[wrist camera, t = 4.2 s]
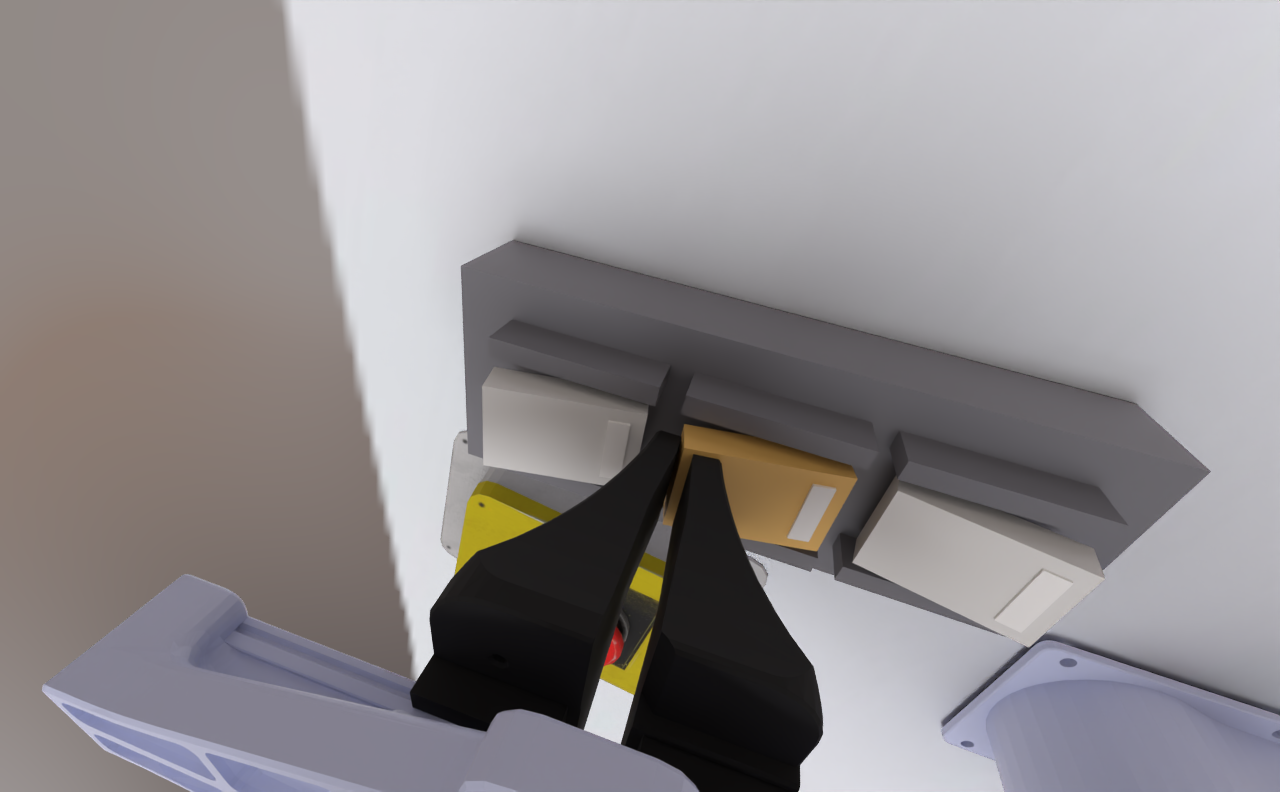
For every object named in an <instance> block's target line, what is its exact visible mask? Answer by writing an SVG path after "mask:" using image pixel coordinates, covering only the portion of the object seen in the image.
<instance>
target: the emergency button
mask: <svg viewBox="0 0 1280 792" xmlns="http://www.w3.org/2000/svg"><path fill="white" fill-rule="evenodd" d="M586 498H588V497H585V496H582V495H579V494H576V493H573V492H570V491H567V490H564V489H561V488H558V487H555V486H552V485H549V484H546V483H543V482H540V481H537V480H534V479H531V478H528V477H525V476H522V475H519V474H516V473H513V472H510V471H507V470H504V469H501V468H497V467H491V466H485V465H483V458H480V457H477V456H474V455H471V454H468V440H467V431H462V432H459V434H458V435H457V436H456V438H455V440H454V445H453V452H452V459H451V467H450V474H449V481H448V489H447V496H446V503H445V511H444V518H443V525H442V533H441V543H442V546H443V547H444V549H445V550H446V551H447V552H448V553H449V554H451V555H452V556H454V557H455V558H457V564H456V569H455V574H456V573H457V572H458V571H459V570H460V569H461V568H462V567H463V565H464V564H465V563H466V562H467V561H468V560H469V559H470V558H471V557H472V556H473V555H474V554H475V553H476V552H477V551H479V550H482V549H485V548H487V547H490V546H493V545H495V544H498V543H501V542H503V541H506V540H509V539H512V538H514V537H516V536H519V535H521V534H523V533H525V532H527V531H529V530H531V529H533V528H536V527H538V526H540V525H542V524H544V523H546V522H548V521H550V520H552V519H554V518H555V517H557V516H559V515H561V514H562V513H564V512H566V511H567V510H569V509H571V508H572V507H574V506H576V505H577V504H579V503H580V502H582V501H583V500H585V499H586ZM671 530H672V526H668V525H663V522H660V521H658V522H657V525H656V527H655V529H654V532H653V534H652V536H651V539H650V541H649V543H648V546H647V548H646V550H645V553H644V555H643V557H642V560H641V562H640V564H639V567H638V569H637V571H636V574H635V576H634V578H633V581H632V583H631V585H630V588H629V590H628V593H627V596H626V598H625V601H624V604H623V607H622V610H621V613H620V616H619V620H618V623H617V626H616V629H615V632H614V635H613V638H612V641H611V645H610V648H609V651H608V654H607V657H606V660H605V663H604V667H603V670H602V673H601V676H600V679H602V680H604V681H606V682H608V683H610V684H612V685H614V686H616V687H618V688H620V689H623V690H625V691H627V692H629V693H631V694H633V695H634V694H635V691H636V687H637V683H638V680H639V676H640V672H641V668H642V665H643V661H644V657H645V654H646V650H647V646H648V643H649V639H650V635H651V631H652V628H653V624H654V620H655V617H656V613H657V608H658V603H659V599H660V593H661V588H662V582H663V576H664V570H665V564H666V558H667V553H668V547H669V541H670V535H671ZM747 557H748V559H749V561H750V564H751V566H752V568H753V570H754V572H755V574H756V576H757V579H758V581H759V582H760V584H761V586H762V588H763V587H764V586H765V585H766V581H767V576H768V573H767V572H766V570H765V568H764V567H763V565H762V564H760V563H759V562H757V561H756V560H754V559H753V558H751V557H749V556H747Z"/></svg>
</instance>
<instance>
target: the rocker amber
mask: <svg viewBox="0 0 1280 792" xmlns="http://www.w3.org/2000/svg"><path fill="white" fill-rule="evenodd" d="M693 454H696V455H700V456H705V457H710V458H715V459H719V460H720V462H721V463H722V470H723V477H724V483H725V488H726V492H727V496H728V500H729V504H730V508H731V512H732V515H733V519H734V522H735V525H736V528H737V531H738V534H739V536H740V538H742V539H748V540H754V541H760V542H765V543H771V544H777V545H782V546H788V547H794V548H800V549H805V550H811V551H817V550H818V549H819V547H820V545H821V543H822V541H823V540H824V538H825V536H826V534H827V533H828V531H829V529H830V527H831V525H832V524H833V522H834V520H835V518H836V517H837V515H838V513H839V511H840V509H841V508H842V506H843V504H844V502H845V501H846V499H847V497H848V495H849V493H850V492H851V490H852V488H853V486H854V485H855V483H856V481H857V476H856V474H855V472H854V469H853V467H852V466H851V465H848V464H845V463H841V462H838V461H835V460H831V459H828V458H825V457H821V456H818V455H815V454H812V453H808V452H805V451H802V450H798V449H795V448H792V447H788V446H785V445H782V444H778V443H775V442H772V441H768V440H765V439H762V438H758V437H754V436H749V435H743V434H738V433H732V432H727V431H721V430H716V429H710V428H704V427H699V426H693V425H688V424H684V427H683V430H682V434H681V442H680V445H679V449H678V453H677V456H676V460H675V464H674V467H673V471H672V475H671V478H670V482H669V486H668V489H667V493H666V496H665V500H664V507H663V525H668V526H672V524H673V521H674V518H675V514H676V511H677V507H678V504H679V501H680V497H681V494H682V491H683V487H684V484H685V480H686V477H687V474H688V470H689V467H690V464H691V460H692V457H693Z"/></svg>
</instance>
